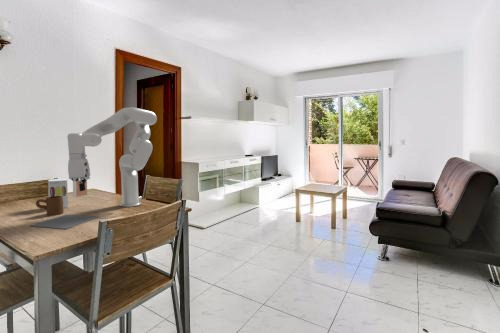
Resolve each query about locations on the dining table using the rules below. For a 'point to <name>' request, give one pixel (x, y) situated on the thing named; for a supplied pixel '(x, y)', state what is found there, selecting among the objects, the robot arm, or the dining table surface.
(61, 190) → the supplement box
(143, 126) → the robot arm
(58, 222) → the mat
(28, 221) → the dining table surface
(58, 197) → the mug
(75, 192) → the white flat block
